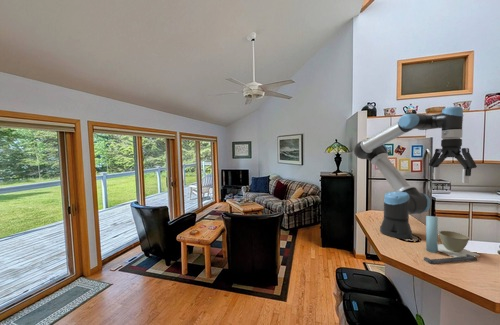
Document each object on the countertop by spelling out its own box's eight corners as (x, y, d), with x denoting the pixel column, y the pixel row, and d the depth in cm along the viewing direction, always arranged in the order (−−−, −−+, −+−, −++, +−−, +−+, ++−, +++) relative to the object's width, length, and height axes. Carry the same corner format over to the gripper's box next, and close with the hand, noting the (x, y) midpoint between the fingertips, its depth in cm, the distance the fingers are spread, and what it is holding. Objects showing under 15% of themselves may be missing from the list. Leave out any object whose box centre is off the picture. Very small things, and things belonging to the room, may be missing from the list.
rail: (423, 260, 89) (423, 257, 89) (468, 256, 92) (468, 254, 92) (430, 263, 86) (430, 261, 86) (476, 260, 89) (476, 257, 89)
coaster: (429, 246, 103) (429, 244, 103) (450, 244, 104) (450, 243, 104) (456, 258, 91) (456, 256, 91) (479, 256, 92) (479, 255, 92)
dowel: (424, 249, 99) (423, 216, 99) (430, 248, 100) (430, 215, 99) (433, 253, 95) (432, 218, 95) (440, 252, 96) (439, 217, 95)
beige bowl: (432, 244, 103) (433, 230, 102) (453, 245, 102) (454, 230, 102) (451, 254, 93) (452, 238, 92) (475, 254, 92) (475, 239, 92)
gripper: (421, 140, 116) (420, 178, 117) (474, 136, 91) (472, 184, 92) (433, 140, 117) (432, 178, 118) (489, 136, 92) (487, 184, 93)
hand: (450, 181), depth 105 cm, fingers open, 13 cm apart
